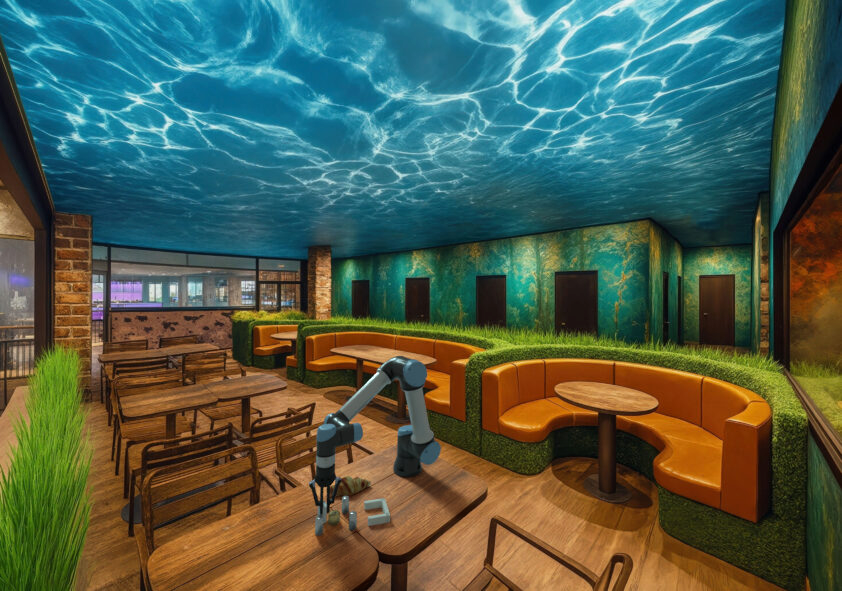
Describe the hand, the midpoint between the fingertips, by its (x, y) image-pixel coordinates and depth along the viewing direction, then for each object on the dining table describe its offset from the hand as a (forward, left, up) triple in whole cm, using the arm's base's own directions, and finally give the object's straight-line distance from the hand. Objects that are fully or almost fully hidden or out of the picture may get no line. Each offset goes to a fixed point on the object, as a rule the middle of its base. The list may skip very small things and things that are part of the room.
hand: (324, 520), depth 141 cm
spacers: (0, +4, -1) cm, 4 cm away
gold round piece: (0, +4, -1) cm, 4 cm away
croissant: (-20, +12, -2) cm, 24 cm away
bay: (0, +22, -1) cm, 22 cm away
